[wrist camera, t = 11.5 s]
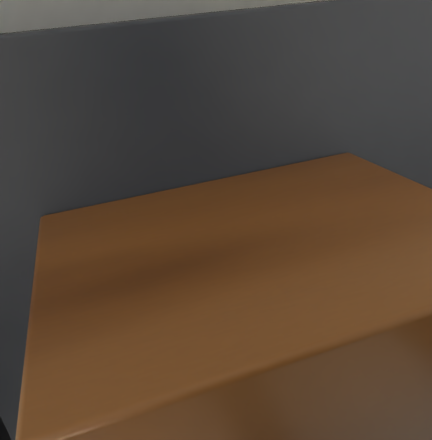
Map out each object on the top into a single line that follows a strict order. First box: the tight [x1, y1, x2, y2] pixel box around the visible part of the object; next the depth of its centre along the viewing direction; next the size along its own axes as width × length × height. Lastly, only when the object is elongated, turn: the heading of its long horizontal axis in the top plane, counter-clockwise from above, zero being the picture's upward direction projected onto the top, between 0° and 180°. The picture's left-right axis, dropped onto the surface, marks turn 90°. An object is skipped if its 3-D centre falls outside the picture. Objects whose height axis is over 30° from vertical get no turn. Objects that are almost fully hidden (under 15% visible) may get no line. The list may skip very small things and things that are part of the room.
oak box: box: [15, 152, 432, 440], centre depth 7 cm, size 6×6×4 cm
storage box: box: [0, 0, 432, 440], centre depth 11 cm, size 12×12×4 cm
